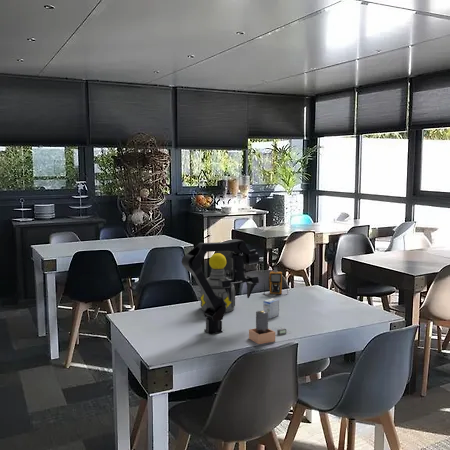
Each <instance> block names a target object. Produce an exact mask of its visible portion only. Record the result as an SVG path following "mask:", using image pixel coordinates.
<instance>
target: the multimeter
mask: <svg viewBox="0 0 450 450" xmlns="http://www.w3.org/2000/svg"><path fill="white" fill-rule="evenodd" d="M269 262H270V260H269V261H267V262H266V264H268V263H269ZM271 262H273V263H274V261H273V260H271ZM278 262H281V264H282V266H283V267H285V265H284V263H283V262H282V261H281V260H277V262H276V263H278ZM266 267H267V265H265V266H264V271H263V272H266V271H265V270H266ZM284 274H285V271H283V272H282V271H278V266H275V269H274V271H270V272H269V275H268V280H269V282H268V290H269V294H268V293H265V292H266V288H265V287H266V286H265V284H263V289H264V291H263V294H264V295H265V296H270V297H276V296H278V295H280V296H282V293H283V292H282V291H283V290H282V289H283V282H284V284H285V288H286V292H287V294H285V296H287V295H288V293H289V290H288V287H287V285H286V281H285V279H284Z"/></svg>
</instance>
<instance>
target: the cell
mask: <svg viewBox="0 0 450 450" xmlns="http://www.w3.org/2000/svg"><path fill="white" fill-rule="evenodd" d="M255 328H256V333H258V334H264V333H268V328H269V318H268V312H267V311H263V310H257V311H256V312H255Z"/></svg>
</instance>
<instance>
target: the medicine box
mask: <svg viewBox="0 0 450 450" xmlns="http://www.w3.org/2000/svg"><path fill="white" fill-rule="evenodd" d="M262 304H263V310H262V311H267V312H268V319H272V318H274V317H275V318H276V317H278V316H280V299H278V298H274V297H272V298H270V299H266V300H263V303H262Z"/></svg>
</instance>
